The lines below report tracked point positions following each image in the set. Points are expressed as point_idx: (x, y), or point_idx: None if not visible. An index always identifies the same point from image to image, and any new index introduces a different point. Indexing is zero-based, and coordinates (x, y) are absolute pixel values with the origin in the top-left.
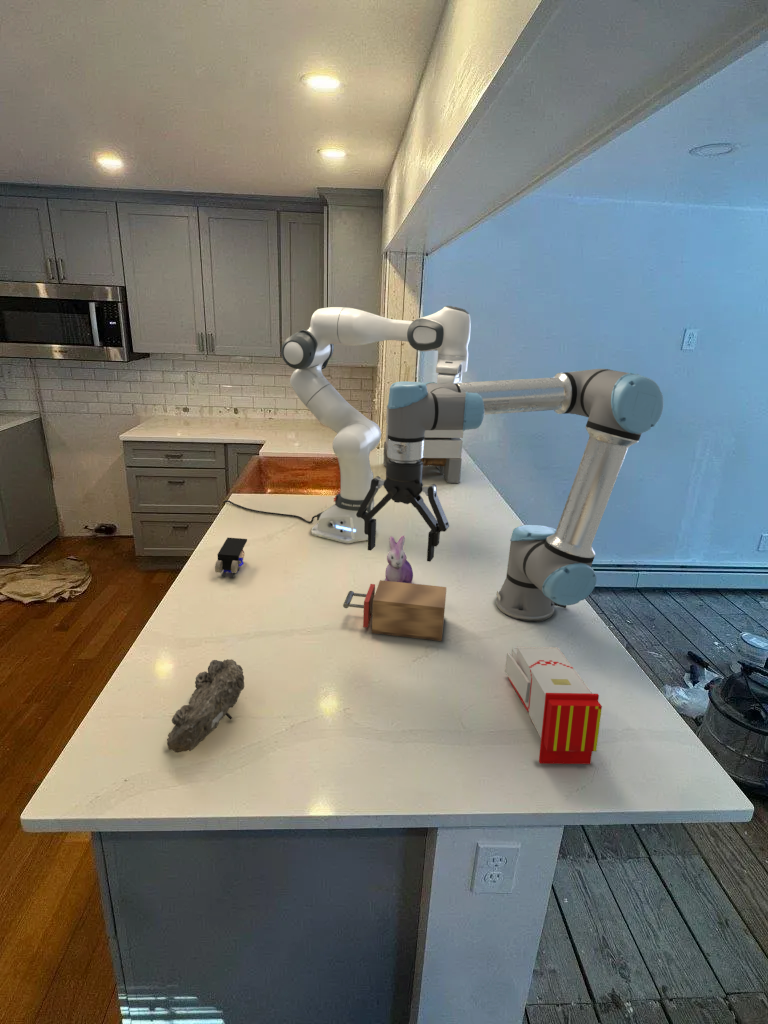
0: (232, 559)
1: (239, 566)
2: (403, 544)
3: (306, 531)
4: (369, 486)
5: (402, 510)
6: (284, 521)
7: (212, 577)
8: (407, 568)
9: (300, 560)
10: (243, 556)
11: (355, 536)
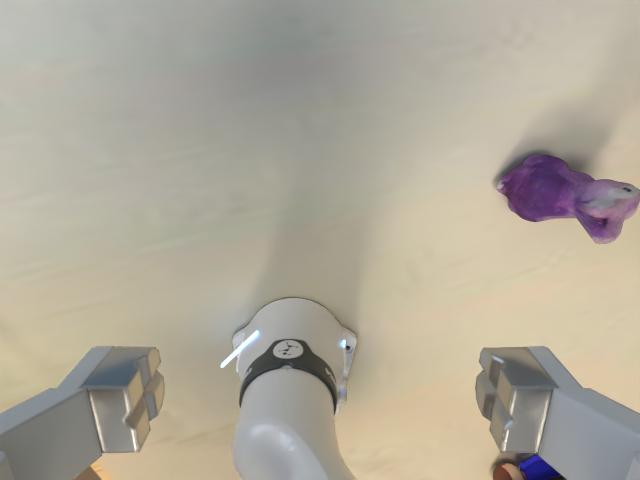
0: None
1: None
2: (604, 201)
3: None
4: (302, 397)
5: (83, 284)
6: None
7: None
8: (569, 172)
9: (465, 384)
10: (510, 467)
11: (341, 332)
